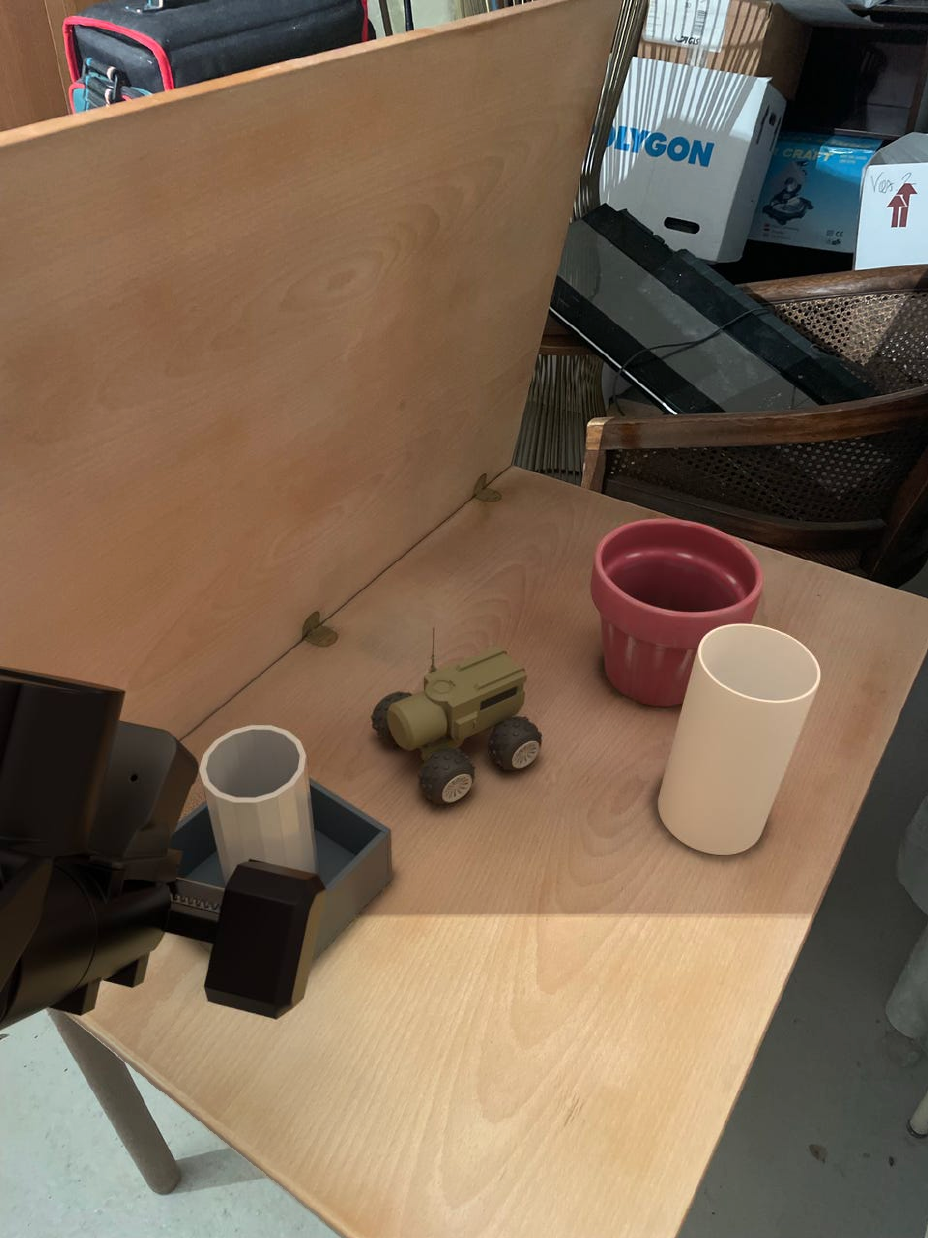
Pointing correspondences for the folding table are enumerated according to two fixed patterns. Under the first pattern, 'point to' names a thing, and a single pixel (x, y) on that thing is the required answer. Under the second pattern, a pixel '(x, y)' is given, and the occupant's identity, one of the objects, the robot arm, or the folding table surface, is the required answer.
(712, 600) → the flower pot
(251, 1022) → the folding table surface
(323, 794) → the open box
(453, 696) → the toy vehicle
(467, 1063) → the folding table surface
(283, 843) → the tumbler
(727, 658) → the cup
